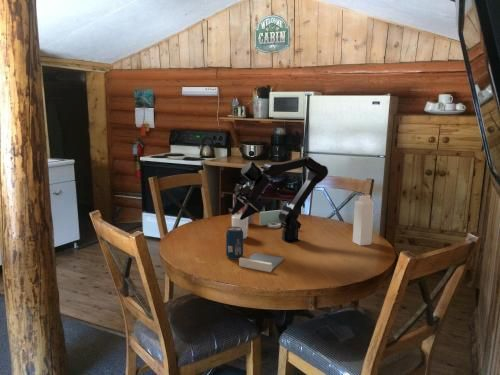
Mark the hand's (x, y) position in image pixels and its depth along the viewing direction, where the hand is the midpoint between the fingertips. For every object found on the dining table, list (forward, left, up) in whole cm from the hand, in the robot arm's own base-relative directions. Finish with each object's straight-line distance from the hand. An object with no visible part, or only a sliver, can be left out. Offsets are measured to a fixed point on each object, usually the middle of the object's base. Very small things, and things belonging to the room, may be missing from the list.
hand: (236, 216), depth 177 cm
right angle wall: (-28, -24, -15) cm, 40 cm away
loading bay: (-5, +19, -14) cm, 24 cm away
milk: (-56, +11, -14) cm, 59 cm away
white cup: (-6, -14, -14) cm, 21 cm away
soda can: (+4, +10, -14) cm, 18 cm away
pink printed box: (-15, -35, -14) cm, 41 cm away
